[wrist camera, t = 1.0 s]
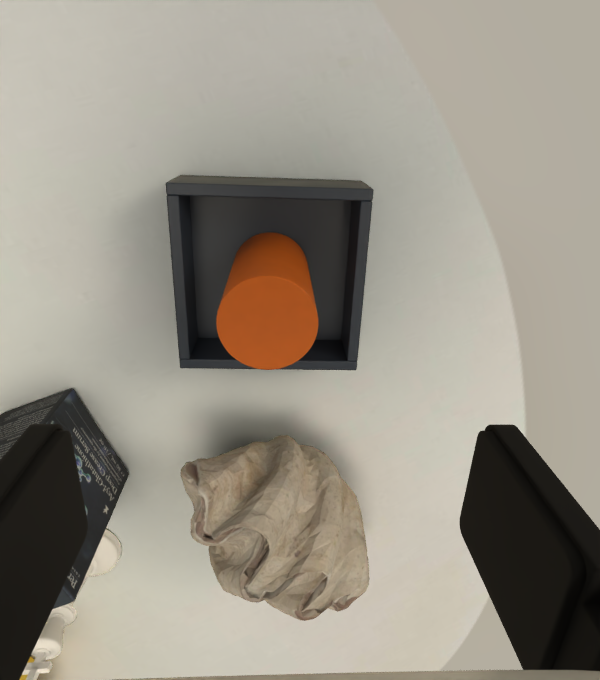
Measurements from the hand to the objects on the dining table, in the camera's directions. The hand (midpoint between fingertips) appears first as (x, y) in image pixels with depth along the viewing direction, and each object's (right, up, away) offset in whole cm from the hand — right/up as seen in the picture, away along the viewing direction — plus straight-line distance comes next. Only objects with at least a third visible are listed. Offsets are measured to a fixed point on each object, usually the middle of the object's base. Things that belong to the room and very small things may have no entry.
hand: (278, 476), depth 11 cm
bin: (-1, +8, +18) cm, 19 cm away
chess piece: (-16, -13, +27) cm, 34 cm away
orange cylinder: (-1, +7, +17) cm, 19 cm away
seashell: (-1, -7, +25) cm, 26 cm away
